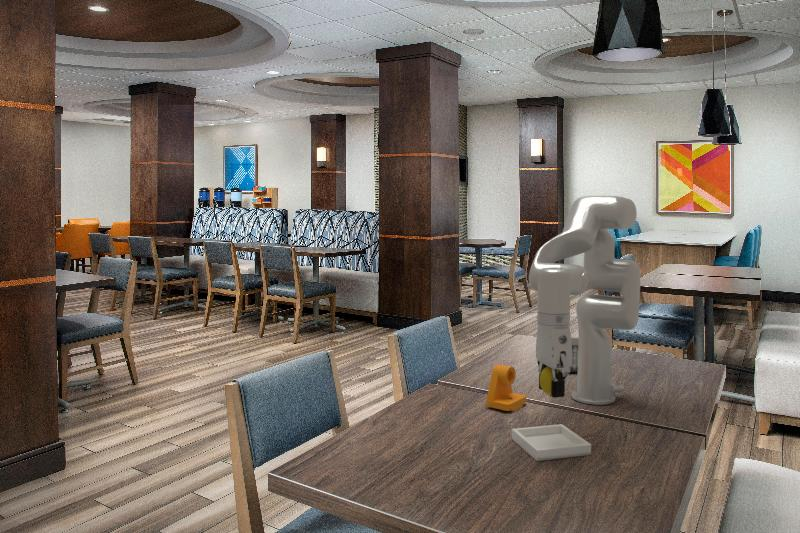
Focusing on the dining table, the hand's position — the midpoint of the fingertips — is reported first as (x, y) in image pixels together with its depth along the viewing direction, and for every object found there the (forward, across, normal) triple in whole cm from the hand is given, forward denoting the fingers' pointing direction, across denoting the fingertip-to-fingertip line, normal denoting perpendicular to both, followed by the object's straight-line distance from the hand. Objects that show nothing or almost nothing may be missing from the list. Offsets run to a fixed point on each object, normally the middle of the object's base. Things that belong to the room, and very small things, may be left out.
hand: (551, 392), depth 153 cm
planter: (+14, +61, -39) cm, 74 cm away
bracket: (+14, +30, -2) cm, 33 cm away
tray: (+14, 0, 0) cm, 14 cm away
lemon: (+1, 0, 0) cm, 1 cm away
